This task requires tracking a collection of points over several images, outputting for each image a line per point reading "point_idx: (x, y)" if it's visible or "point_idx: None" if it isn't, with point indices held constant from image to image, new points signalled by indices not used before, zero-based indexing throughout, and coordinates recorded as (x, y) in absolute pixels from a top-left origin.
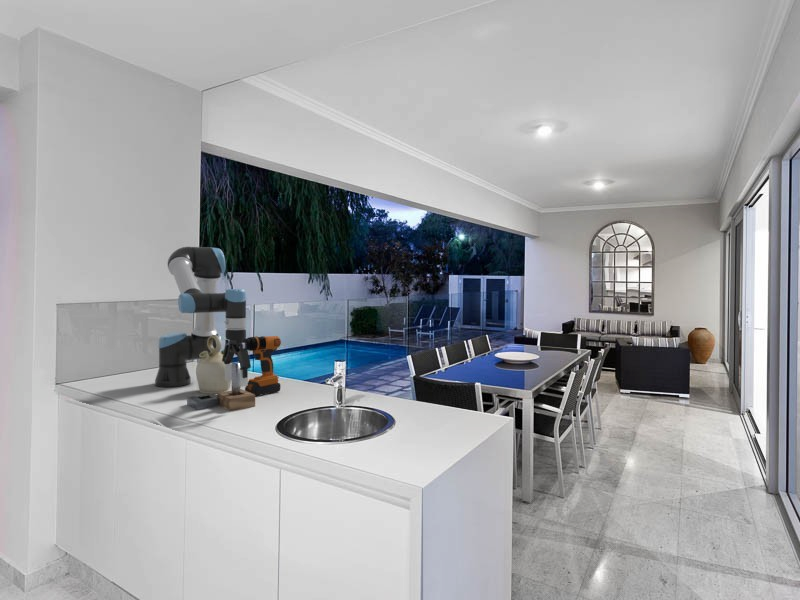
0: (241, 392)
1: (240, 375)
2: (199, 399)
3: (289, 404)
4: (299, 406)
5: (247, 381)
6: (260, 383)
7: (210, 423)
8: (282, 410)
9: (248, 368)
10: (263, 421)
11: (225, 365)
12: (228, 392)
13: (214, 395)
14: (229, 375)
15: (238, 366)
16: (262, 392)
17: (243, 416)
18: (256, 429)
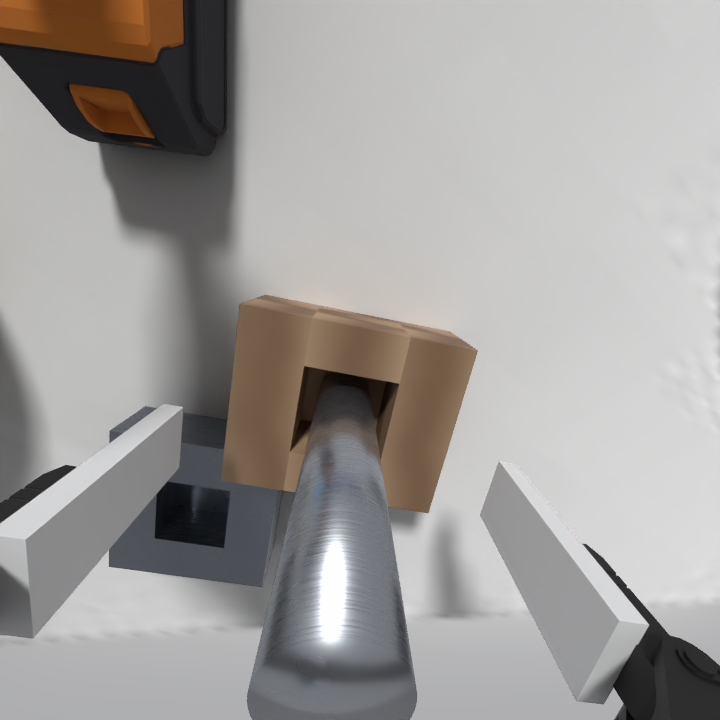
0: (340, 372)
1: (540, 612)
2: (217, 554)
3: (587, 137)
4: (680, 130)
5: (535, 490)
6: (166, 18)
7: (483, 595)
8: (634, 273)
9: (698, 649)
10: (666, 460)
11: (44, 619)
12: (267, 429)
13: (186, 458)
14: (154, 460)
15: (407, 640)
16: (218, 60)
17: (525, 468)
18: (708, 538)
